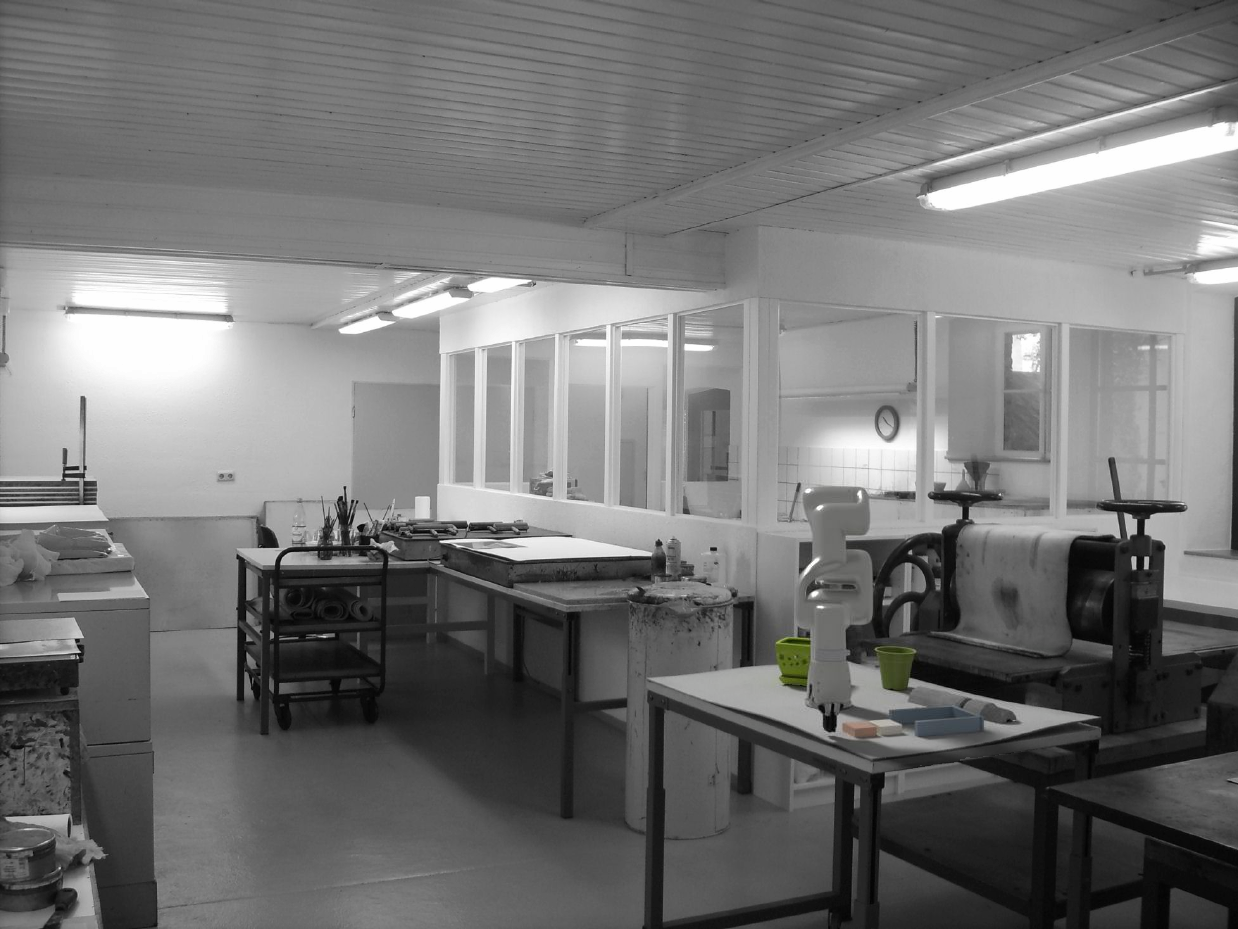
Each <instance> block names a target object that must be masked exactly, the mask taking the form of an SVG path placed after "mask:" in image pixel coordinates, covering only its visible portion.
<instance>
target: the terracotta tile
mask: <svg viewBox="0 0 1238 929" xmlns="http://www.w3.org/2000/svg"><path fill="white" fill-rule="evenodd" d="M841 725H842V729H841V730H842V731H843V732H842V733H844V732H845V734H846V733H848V734H849V736H850V735H851V736H850V737H852V736H853V738H854V737H856V738H865V737H866V738H867V737H877V735H878V734H877V727H876V726H874V725H871V724H869V723H868V721H865V720H861V721H848V722H842V724H841ZM848 734H847V735H848Z"/></svg>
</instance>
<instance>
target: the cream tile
mask: <svg viewBox="0 0 1238 929" xmlns="http://www.w3.org/2000/svg"><path fill="white" fill-rule="evenodd" d="M867 723H869V724H871V725H874V726H876V727H877V735H878V736H891V735H892V736H893V735H902V734H903V724H899V723H897V722H894V721H892V720H890V719H889V718H888V719H875V720H868V721H867Z"/></svg>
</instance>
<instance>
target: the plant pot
mask: <svg viewBox="0 0 1238 929" xmlns="http://www.w3.org/2000/svg"><path fill="white" fill-rule="evenodd" d="M874 651H875V652H876V655H877V659H878V666H879V673H880V679H881V687H882V688H883V689H886V690H891V689H893V690H894V691H904V690H907V689H908V687H909V683H910V682H909V681H910V678H911V677H910V676H911V671H912V665H913V661H914V659H915V655H916V654H917V651H916V649H913V648H911V647H910V648H909V647H903V646H902V647H901V646H879V647H875V648H874Z"/></svg>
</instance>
